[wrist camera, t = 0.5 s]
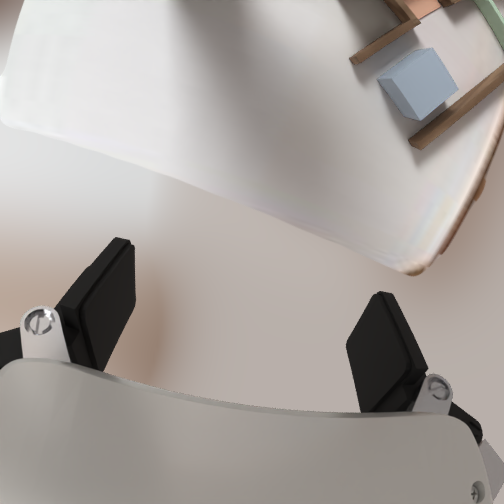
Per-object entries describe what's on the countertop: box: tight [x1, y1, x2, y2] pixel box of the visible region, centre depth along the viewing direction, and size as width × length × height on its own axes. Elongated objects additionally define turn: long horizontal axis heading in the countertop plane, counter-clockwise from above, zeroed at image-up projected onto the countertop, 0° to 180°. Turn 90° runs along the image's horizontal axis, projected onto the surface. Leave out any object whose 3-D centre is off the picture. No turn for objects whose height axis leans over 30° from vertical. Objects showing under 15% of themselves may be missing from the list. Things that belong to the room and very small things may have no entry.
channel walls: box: [349, 0, 504, 150], centre depth 27 cm, size 22×31×3 cm
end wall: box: [474, 0, 504, 50], centre depth 21 cm, size 16×1×4 cm, turn 43°
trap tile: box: [403, 0, 441, 19], centre depth 25 cm, size 5×8×1 cm, turn 133°
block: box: [377, 48, 458, 121], centre depth 30 cm, size 7×9×6 cm
